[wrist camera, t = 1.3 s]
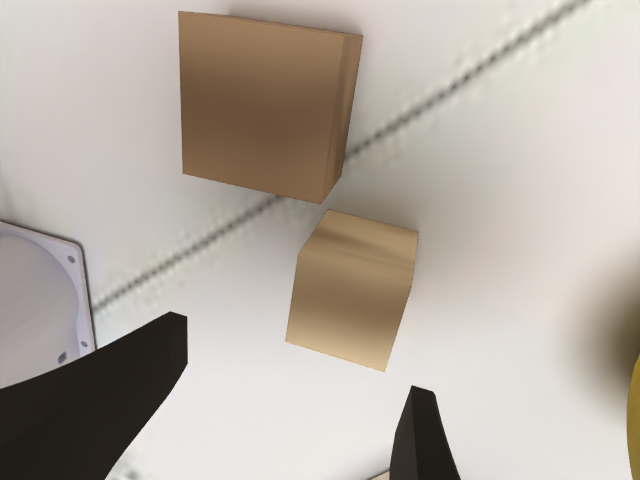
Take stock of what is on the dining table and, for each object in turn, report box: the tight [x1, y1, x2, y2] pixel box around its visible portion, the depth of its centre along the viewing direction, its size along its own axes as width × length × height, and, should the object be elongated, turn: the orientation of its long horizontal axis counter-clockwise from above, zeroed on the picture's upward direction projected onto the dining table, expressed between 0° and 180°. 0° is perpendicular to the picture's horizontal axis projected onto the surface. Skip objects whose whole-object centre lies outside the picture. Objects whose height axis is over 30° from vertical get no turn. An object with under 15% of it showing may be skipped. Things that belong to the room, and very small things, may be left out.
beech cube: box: [285, 209, 418, 372], centre depth 19 cm, size 4×4×5 cm
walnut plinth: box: [178, 11, 363, 204], centre depth 17 cm, size 6×6×4 cm
